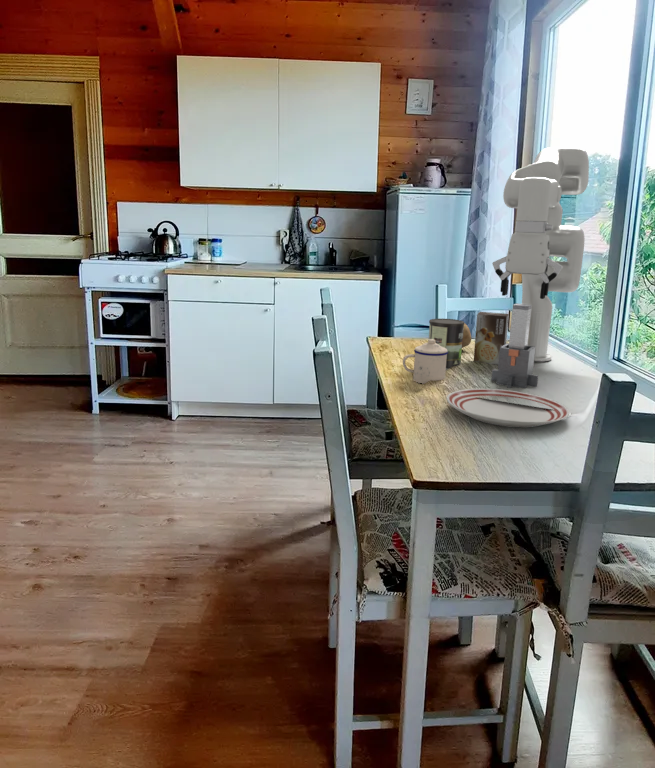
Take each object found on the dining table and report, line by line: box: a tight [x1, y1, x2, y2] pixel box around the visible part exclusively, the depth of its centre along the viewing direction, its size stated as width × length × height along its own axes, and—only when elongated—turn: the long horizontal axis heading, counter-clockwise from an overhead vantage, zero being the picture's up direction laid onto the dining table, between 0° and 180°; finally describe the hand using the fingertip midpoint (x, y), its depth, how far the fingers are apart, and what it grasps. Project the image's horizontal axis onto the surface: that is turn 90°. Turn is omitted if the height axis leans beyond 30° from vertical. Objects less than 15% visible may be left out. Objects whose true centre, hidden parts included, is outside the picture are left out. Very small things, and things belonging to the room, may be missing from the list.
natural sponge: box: [462, 322, 472, 349], centre depth 220 cm, size 9×9×10 cm
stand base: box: [491, 342, 539, 389], centre depth 171 cm, size 12×12×11 cm
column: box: [508, 303, 532, 350], centre depth 169 cm, size 5×4×21 cm
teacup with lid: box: [402, 338, 448, 385], centre depth 175 cm, size 12×9×12 cm
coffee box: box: [473, 311, 510, 366], centre depth 197 cm, size 9×6×16 cm
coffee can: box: [428, 318, 465, 371], centre depth 193 cm, size 10×10×14 cm
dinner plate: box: [445, 388, 570, 428], centre depth 148 cm, size 28×27×3 cm
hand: (523, 296), depth 166 cm, fingers open, 9 cm apart
